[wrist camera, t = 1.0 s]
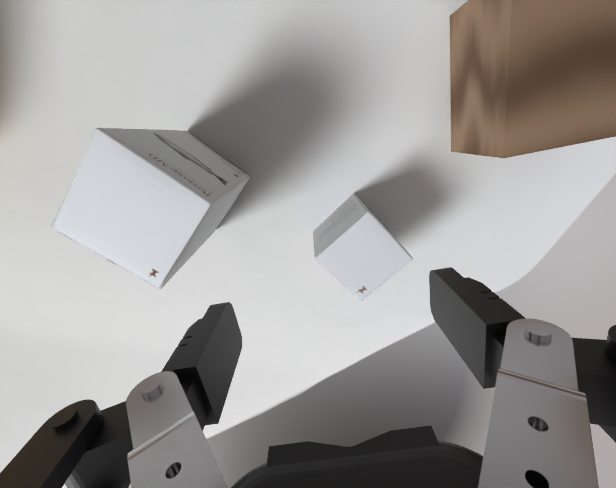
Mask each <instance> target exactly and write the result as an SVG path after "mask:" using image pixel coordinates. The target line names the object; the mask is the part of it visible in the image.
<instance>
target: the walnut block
mask: <svg viewBox="0 0 616 488" xmlns="http://www.w3.org/2000/svg"><path fill="white" fill-rule="evenodd" d="M450 74H451V152H459V153H467V154H475V155H483V156H491V157H499V158H507V157H512V156H517V155H522V154H527V153H532V152H538V151H543V150H548V149H553V148H558V147H563V146H568V145H573V144H579V143H584V142H589V141H594V140H599V139H604V138H609V137H615V136H616V0H469V1H468V2H467V3H465V4H464V5H463V6H462V7H460V8H459V9H458V10H457V11H455V12H454V13H453V14H452V15H450Z"/></svg>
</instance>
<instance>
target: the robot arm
mask: <svg viewBox="0 0 616 488" xmlns="http://www.w3.org/2000/svg"><path fill="white" fill-rule="evenodd" d="M429 282H430V306H431V312H432V315H433V317H434V320H435V321H436V323H437V324H438V325H439V327H440V328H441V330H442V331H443V332H444V334H445V335H446V337H447V338H448V339H449V341H450V342H451V344H452V345H453V346H454V348H455V349H456V351H457V352H458V354H459V355H460V356H461V358H462V359H463V361H464V362H465V363H466V365H467V366H468V367H469V369H470V370H471V372H472V373H473V374H474V376H475V377H476V379H477V380H478V381H479V383H480V384H481V386H482V387H483V388H484V389H485V388H492V387H495V391H494V397H493V403H492V408H491V415H490V420H489V426H488V432H487V438H486V444H485V450H484V456H482V455H480V454H478V453H476V452H474V451H472V450H470V449H467V448H465V447H462V446H460V445H457V444H453V443H449V442H445V441H438V440H437V438H436V436H435V434H434V431H433V429H432V427H431V426H423V427H416V428H408V429H401V430H393V431H389V432H386V433H384V434H381V435H379V436H377V437H374V438H372V439H369V440H367V441H365V442H362V443H360V444H357V445H355V446H352V447H344V446H337V445H329V444H322V443H315V442H300V443H292V444H285V445H277V446H270V447H269V451H268V459H267V462H266V463H263V464H261V465H260V466H258V467H256V468H254V469H253V470H251V471H250V472H248V473H247V474H246V475H244V476H243V477H242V478H241V479H239V480H238V481H237V482H236V483H235V484H234V485H233V486H232V487H231V488H599V486H598V479H597V471H596V464H595V458H594V450H593V443H592V435H591V428H590V423H591V424H597V425H600V426H601V428H602V429H603V430H604V431H605V432H606V433H607V434H608V435H609V436H610V437H611V438H612V439H613V440H614V441H615V442H616V325H614V326H612V327H611V328H610V329H609V331H608V336H607V340H597V339H581V338H571V336H570V335H569V334H568V333H567V332H566V331H565V330H563V329H562V328H560V327H558V326H556V325H554V324H552V323H549V322H545V321H542V320H537V319H526V318H525V317H523V316H522V315H521V314H520V313H519V312H517V311H516V310H515V309H513V308H512V307H511V306H510V305H509V304H507V303H506V302H505V301H503V300H502V299H500V298H499V296H497V295H496V294H495V293H494V292H492V291H491V290H490V289H489V288H488V287H486V286H485V285H484V284H483V283H481V282H478V281H476V280H473V279H471V278H463V277H462V276H461V275H460V274H459V273H458V272H457V271H455V270H454V269H453V268H451V267H450V268H444V269H437V270H432V271H430V274H429ZM241 349H242V336H241V332H240V329H239V326H238V322H237V319H236V316H235V313H234V309H233V306H232V304H231V303H230V302H227V303H221V304H215V305H211V306H210V307H209V308H208V310H207V312H206V313H205V315H204V317H203V319H199V320H198V321H196V322H195V323H194V324H193V325H192V326H191V327H190V328H189V329H188V330H187V332H186V333H185V335H184V337H183V339H182V340H181V341H180V343H179V345H178V347H177V348H176V349H175V351H174V352H173V354H172V356H171V357H170V359H169V360H168V362H167V364H166V365H165V367H164V368H163V370H162V372H160V373H156V374H154V375H152V376H150V377H148V378H146V379H144V380H143V381H142V382H140V383H139V384H138V385H137V386H136V387H135V388H134V389H133V390H132V391H131V392H130V394H129V395H128V397H127V400H126V401H125V402H122V403H120V404H117V405H114V406H112V407H109V408H107V409H104V410H101V411H100V410H99V408H98V406H97V404H96V403H95V401H93V400H82V401H79V402H76V403H73V404H71V405H69V406H67V407H65V408H64V409H62V410H60V411H59V412H57V413H56V414H54V415H53V416H52V417H51V418H49V419H48V420H47V421H46V422H45V423H44V424H43V425H42V426H41V427H40V429H39V430H38V431H37V432H36V433H35V434H34V435H33V437H32V438H31V439H30V440H29V441H28V442H27V443H26V445H25V446H24V447H23V448H22V449H21V450H20V451H19V453H18V454H17V455H16V456H15V457H14V458H13V459H12V461H11V462H10V463H9V464H8V465H7V466H6V467H5V468H4V470H3V471H2V472H1V473H0V488H62V486H63V485H64V483H65V485H66V486H67V488H128V487H129V485H130V483H131V487H132V488H228V486H227V484H226V482H225V480H224V477H223V475H222V473H221V471H220V468H219V467H218V464H217V462H216V460H215V458H214V455H213V453H212V451H211V449H210V447H209V444H208V442H207V440H206V438H205V436H204V433H203V429H204V426H205V425H211V424H218V423H219V419H220V416H221V413H222V410H223V407H224V403H225V400H226V397H227V394H228V391H229V387H230V384H231V381H232V378H233V375H234V371H235V368H236V365H237V362H238V359H239V356H240V352H241Z"/></svg>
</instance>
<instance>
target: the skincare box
mask: <svg viewBox="0 0 616 488" xmlns="http://www.w3.org/2000/svg"><path fill="white" fill-rule="evenodd" d="M313 240H314V256H315V259H316V260H317V261H318V262H319V263H320V264H321V265H322V266H323V267H324V268H325V269H326V270H328V271H329V272H330V273H331V274H332V275H333V276H334V277H335V278H336V280H337V281H338V282H340V283H341V284H342V285H343V286H344V287H345V288H347V289H348V290H349V291H350V292H351V293H352V294H353V295H354V296H355V297H356V298H357V299H358V300H360V301H362V300H363V299H364V298H365V297H366V296H368V295H369V294H370V293H371V292H373V291H374V290H375V289H376V288H377V287H379V286H380V285H381V284H382V283H384V282H385V281H386V280H387V279H389V278H390V277H391V276H392V275H394V274H395V273H396V272H397V271H399V270H400V269H401V268H402V267H404V266H405V265H406V264H407V263H409V262H410V261H411V260H412V259H413V258H412V257H411V255H410V254H409V253H408V252H407V251H406V250H405V248H404V247H403V246H402V245H401V244H400V243H399V242H398V240H397V239H396V238H395V237H394V236H393V235H392V234H391V233H390V232H389V231H388V229H387V228H386V227H385V226H384V225H383V224H382V223H381V222H380V221H379V220H378V219H377V218H376V217H375V215H374V214H373V213H372V212H371V211H370V210H369V209H368V208H367V207H366V206H365V205H364V204H363V203H362V201H361V200H360V199H359V198H358V197H357V196H356V194H353V195H352V196H351V197H349V198H348V199H347V200H346V201H345V202H344V203H343V204H342V205H341V206H340V207H339V208H338V209H337V210H336V211H335V212H334V213H333V214H332V215H330V216H329V217H328V218H327V219H326V220H325V221H324V222H323V223H322V224H321V225H320V226H319V227H318V228H317V229H316V230H315V231H313Z"/></svg>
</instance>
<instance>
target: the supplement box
mask: <svg viewBox="0 0 616 488" xmlns="http://www.w3.org/2000/svg"><path fill="white" fill-rule="evenodd" d="M249 178H250V176H249V175H248V174H246V173H245V172H243V171H242V170H240V169H238V168H237V167H235V166H234V165H232V164H231V163H230V162H228V161H227V160H225V159H224V158H222V157H221V156H220V155H218V154H217V153H215V152H214V151H213V150H211V149H210V148H209V147H207V146H206V145H204V144H203V143H202V142H200V141H199V140H198V139H196V138H195V137H194V136H193V135H191V134H190V133H189V132H187V131H176V130H147V129H116V128H113V129H111V128H96V129H95V131H94V134H93V136H92V138H91V140H90V143H89V145H88V147H87V149H86V152H85V154H84V156H83V159H82V161H81V163H80V165H79V168H78V170H77V172H76V174H75V177H74V179H73V181H72V183H71V185H70V187H69V190H68V192H67V194H66V196H65V198H64V200H63V202H62V204H61V206H60V208H59V210H58V212H57V214H56V216H55V218H54V220H53V222H52V225H51V227H52V228H53V229H54V230H55V231H57V232H59V233H61V234H62V235H64V236H66V237H68V238H69V239H71V240H73V241H75V242H77V243H79V244H80V245H82V246H84V247H86V248H87V249H89V250H91V251H93V252H95V253H96V254H98V255H100V256H102V257H103V258H105V259H107V260H108V261H110V262H112V263H114V264H116V265H118V266H120V267H121V268H123V269H125V270H127V271H129V272H130V273H132V274H134V275H136V276H137V277H139V278H141V279H143V280H144V281H146V282H148V283H150V284H152V285H153V286H155V287H156V288H158V289H161V288H162V287H163V286H164V285H165V284H166V283H167V282H168V281H169V280H170V279H171V278H172V276H173V275H174V274H175V273H176V272H177V271H178V270H179V269H180V268H181V267H182V266H183V265H184V264H185V262H186V261H187V260H188V259H189V258H190V257H191V256H192V255H193V254H194V253H195V252H196V251H197V250H198V249H199V247H200V246H201V245H202V244H203V243H204V242H205V241H206V240H207V239H208V238H209V237H210V236H211V235H212V234H213V232H214V231H215V230H216V228H217V227H218V226H219V224H220V223H221V221H222V220H223V218H224V217H225V215H226V214H227V212H228V211H229V209H230V208H231V206H232V205H233V203H234V202H235V200H236V199H237V197H238V196H239V194H240V192H241V191H242V189H243V188H244V186H245V185H246V183H247V182H248V180H249Z"/></svg>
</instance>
